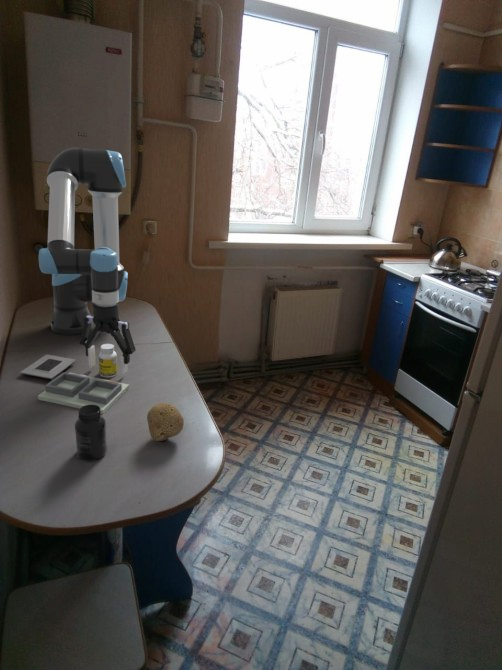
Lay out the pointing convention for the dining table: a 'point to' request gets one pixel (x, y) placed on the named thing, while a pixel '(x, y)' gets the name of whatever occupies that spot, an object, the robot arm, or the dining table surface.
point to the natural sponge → (164, 421)
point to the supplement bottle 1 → (90, 433)
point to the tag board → (83, 391)
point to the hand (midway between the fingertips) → (108, 368)
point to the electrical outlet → (48, 366)
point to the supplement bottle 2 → (107, 361)
